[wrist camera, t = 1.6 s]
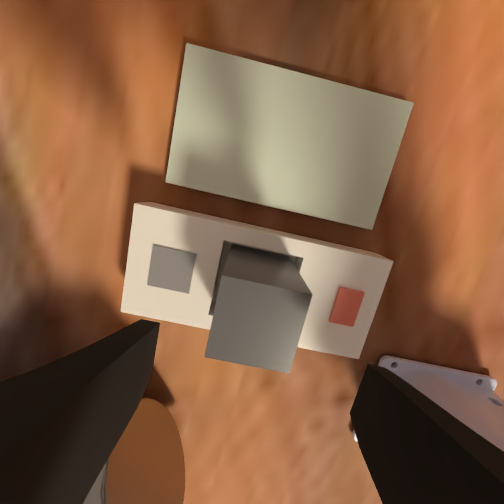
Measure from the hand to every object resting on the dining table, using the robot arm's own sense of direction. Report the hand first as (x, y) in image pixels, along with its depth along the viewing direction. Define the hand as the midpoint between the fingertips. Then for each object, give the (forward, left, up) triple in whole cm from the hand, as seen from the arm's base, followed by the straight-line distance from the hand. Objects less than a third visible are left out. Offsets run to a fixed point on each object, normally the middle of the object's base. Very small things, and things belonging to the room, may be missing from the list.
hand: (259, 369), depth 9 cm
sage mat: (0, -9, -10) cm, 14 cm away
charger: (0, 0, -10) cm, 10 cm away
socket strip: (0, 0, -10) cm, 10 cm away
